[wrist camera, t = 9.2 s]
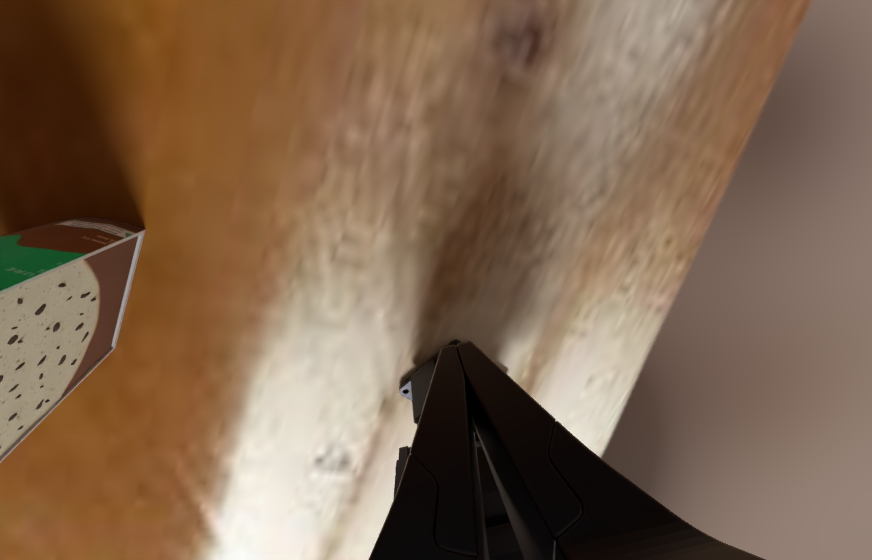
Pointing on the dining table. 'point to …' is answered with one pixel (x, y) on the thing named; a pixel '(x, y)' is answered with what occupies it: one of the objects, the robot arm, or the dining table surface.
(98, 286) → the food container
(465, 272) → the dining table surface
